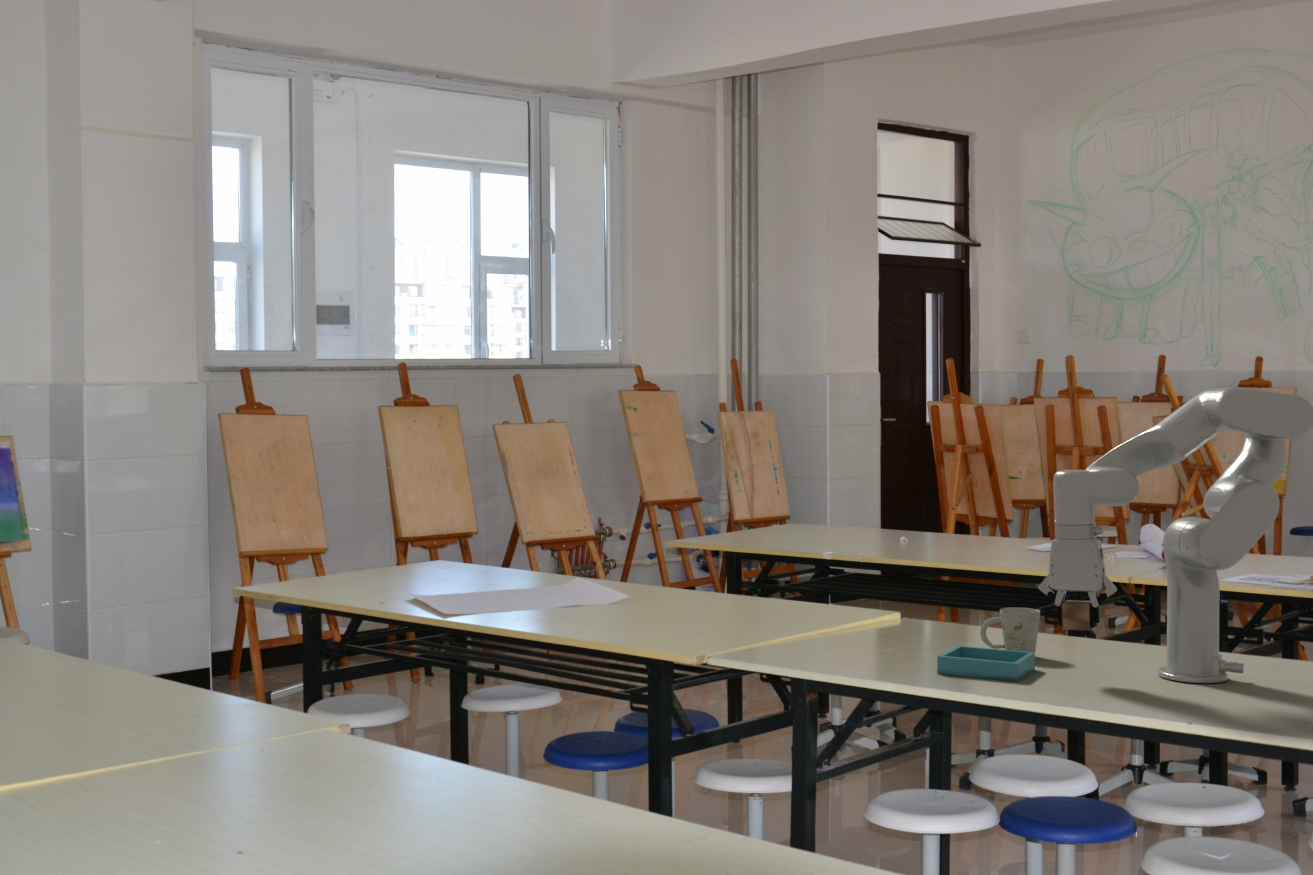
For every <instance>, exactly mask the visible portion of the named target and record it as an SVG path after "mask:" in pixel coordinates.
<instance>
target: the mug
mask: <svg viewBox="0 0 1313 875" xmlns="http://www.w3.org/2000/svg"><path fill="white" fill-rule="evenodd" d="M1040 617H1041V610H1040V609H1036V608H1029V607H1018V606H1017V607H1015V606H1014V607H1002V608H1000V609H999V617H998V616H997V617H989V618H987V619H986V620H985V621H984V622H983V623H982V625H981V627H980V632H979V634H980V639H981V641H982V642H983V644H984V645H986V646H987V647H988V648H990V649H1003V650H1013V651H1024V652H1035V653H1036V649H1037V648H1036V647H1037V640H1038V632H1039V626H1040ZM992 624H1000V625H1001V631H1002V640H1003V644H993V643H992V642H991V641H990V640H989V639H988V636H987V630H988V628H989V627H990V626H991V625H992Z"/></svg>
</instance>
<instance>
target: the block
mask: <svg viewBox="0 0 1313 875" xmlns="http://www.w3.org/2000/svg"><path fill="white" fill-rule="evenodd" d="M1090 607H1091V600H1078V599H1075V600H1073V599H1067V600H1064V603H1062V622H1063V627H1062V630H1065V631H1066V630H1067V631H1091V630H1092V629H1093V628H1091V627H1090Z"/></svg>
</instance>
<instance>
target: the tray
mask: <svg viewBox="0 0 1313 875" xmlns="http://www.w3.org/2000/svg"><path fill="white" fill-rule="evenodd" d="M936 658H937V663H936V664H937V666H936V667H937V669H936V673H937V675H945V676H958V677H966V678H967V677H968V678H976V679H977V678H978V679H986V680H987V679H988V680H995V681H997V680H998V681H1007V682H1018V683H1019V681H1022V680H1023V679H1024V678H1025V677H1027V676H1028V675H1030V674H1031V673H1032V672H1034V671H1035V670H1036V651H1035V652H1024V651H1013V650H1005V649H1003V648H1001V649H994V648H991V647H979V646H967V645H965V646H964V645H956V646H954V647H952V648H950V649H948V650H946V651H944V652H943V653H940V654H939V655H937V657H936Z"/></svg>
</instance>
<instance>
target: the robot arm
mask: <svg viewBox="0 0 1313 875" xmlns="http://www.w3.org/2000/svg"><path fill="white" fill-rule="evenodd" d="M1312 428H1313V405H1312V404H1311V402H1310V401H1308V400H1307V399H1306V398H1305V397H1302V396H1300V395H1297V394H1294V393H1293V394H1291V393H1284V392H1276V391H1268V390H1261V389H1254V388H1247V387H1241V386H1224V387H1222V386H1220V387H1219V386H1218V387H1210V388H1207V389H1204V390H1202V391H1201V392H1198V394H1196V395H1195V396H1193V397H1192V398H1190V399H1189V400H1188V401H1186V402H1185V403H1183V404H1182V405H1181V406H1180V407H1178V408H1177V409H1176V410H1174V411H1173V412H1172V413H1170V414H1169V415H1168V416H1166V417H1165V418H1164V419H1162V420H1161V421H1159V422H1158V423H1157V424H1155V425H1154V426H1152V427H1151V428H1149V429H1146V430H1145V431H1143V432H1141V433H1139V434H1138V435H1136V436H1133V437H1132V438H1129V440H1127V441H1125V442H1123V443H1121V444H1119V445H1117V446H1116V447H1114V448H1112V449H1111V450H1109V451H1108V452H1106V453H1105V454H1104V455H1102V456H1101V457H1099V458H1098V459H1097V460H1095V461H1094V462H1092V464H1090V465H1088V466H1087V467H1086V468H1085V469H1063V470H1058V471H1056V472H1055V473H1054V474H1053V477H1052V480H1053V482H1052V483H1053V484H1052V485H1053V486H1052V487H1053V489H1052V490H1053V512H1054V516H1053V517H1054V539H1052V540H1051V544H1050V550H1049V563H1048V564H1049V566H1048V574H1047V575H1046V576H1045V578H1044V579H1043V580H1042V582H1040V584H1039V585H1038V590H1039V591H1040V592H1042V593H1043V594H1044V595H1046V596H1047V597H1048V599H1050V601H1052V602H1053V603H1054V605H1055V607H1056V616H1057V617H1056V618H1057V622H1060V623H1059V624H1060V625H1059V626H1060V627H1062V628H1063V622H1062V603H1064V602H1065V598H1066V594H1067V592H1075V593H1076V592H1077V593H1087V594H1088V597H1089V601H1091V607H1090V627H1091V628H1092V629H1094V628H1096V627H1097V625H1098V624H1099V623H1100V621H1101V620H1100V605H1101V604H1102V603H1103V602H1105V601H1106V600H1107V599H1108V598H1109V597H1111V596H1112V595H1113V594H1115V593H1116V591H1117V590H1118V588H1117V586H1116V585H1115V584H1114V583H1113V581H1112V580H1111V579H1110V578H1109V577H1108V576H1107V575H1106V566H1105V558H1104V551H1103V546H1102V542H1101V539H1097V538H1096V537H1098V535H1104V527H1100V526H1098V525H1097V523H1096V511H1095V508H1096V506H1108V507H1109V506H1110V507H1121V506H1126V505H1129V504H1130V503H1132V502H1133V501H1134V500H1135V499H1136V498H1137V496H1138V494H1139V491H1140V483H1139V480H1138V479H1137V478H1138V477H1140V476H1142V475H1144V474H1147V473H1148V472H1152V471H1154V470H1158V469H1162V468H1167V467H1170V466H1173V465H1175V464H1177V463H1181V462H1182V461H1185V459H1187V458H1188V457H1189V456H1191V455H1192V454H1194V453H1195V452H1196V451H1197V450H1199V449H1201V447H1203V446H1204V445H1205V444H1207V443H1208V442H1209V441H1210V440H1212V439H1214V438H1215V437H1216V436H1218V435H1219V434H1220V433H1222V432H1224V431H1225V432H1226V431H1230V432H1231V431H1232V432H1234V431H1236V432H1242V434H1243V443H1242V444H1243V445H1242V449H1241V450H1240V452H1239V454H1238V456H1237V457H1236V458H1235V459H1234V461H1233V462H1231V464H1230V466H1228V467H1227V469H1225V471H1224V472H1223V473H1222V474H1221V475H1220V476H1219V477H1218V478H1217V480H1216V481H1215V482H1214V483H1213V484H1212V485H1211V486H1209V488H1208V490H1207V491H1206V493H1205V495H1204V497H1203V501H1202V502H1203V503H1202V506H1203V509H1204V512H1205V514H1206V515H1207V516H1208V517H1209V518H1210V519H1209V518H1206V517H1205V518H1204V517H1197V516H1185V517H1180V518H1177V519H1176V520H1174V521H1172V522H1171V523H1170V525H1168V527H1167V528H1166V530H1165V532H1164V535H1163V541H1162V548H1163V549H1162V550H1163V556H1164V561H1165V568H1166V584H1167V586H1166V587H1167V590H1166V592H1167V593H1166V594H1167V597H1166V609H1167V610H1166V666H1161V667H1160V668H1158V669H1157V670H1158V671H1157V672H1158V676H1159V677H1161V678H1162V679H1163V678H1164V679H1166V680H1171V681H1176V682H1183V683H1191V684H1193V683H1196V684H1217V683H1224V682H1226V681H1227V680H1228V673H1233V674H1244V672H1245V664H1244V662H1243V663H1241V662H1236V661H1226V660H1225V659H1223V654H1222V653H1221V654H1220V600H1221V598H1220V595H1221V594H1220V593H1221V592H1220V582H1219V577H1218V576H1219V575H1218V572H1217V571H1219V572H1220V571H1224V570H1228V569H1230V568H1232V567H1234V566H1236V565H1237V564H1238V563H1239V562H1240V561H1241V560H1242V559H1243V558H1244V557H1245V556H1246V555H1247V554H1248V552H1249V551H1251V549H1252V548H1253V547H1254V546H1256V543H1257V542H1258V541H1259V540H1260V539H1261V538H1262V536H1264V535H1265V533H1266V532H1267V531H1268V530H1269V528H1271V527H1272V525H1273V524H1274V522H1275V521H1276V520H1277V519H1276V518H1277V516H1278V514H1279V511H1280V497H1279V494H1278V491H1277V490H1276V489H1275V488H1274V487H1273V486H1274V485H1275V484H1276V482H1277V481H1278V480H1279V479H1280V477H1281V475H1282V474H1283V472H1284V470H1285V467H1286V462H1287V449H1286V447H1287V446H1286V440H1291V439H1292V440H1294V439H1299V438H1301V437H1303V436H1305V435H1306V434H1308V433H1309V432H1310V431H1311V430H1312ZM1105 587H1106V588H1105ZM1104 588H1105V591H1103V592H1102V593H1101V594H1099V591H1101V590H1102V589H1104ZM1056 591H1057V592H1056Z"/></svg>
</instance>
